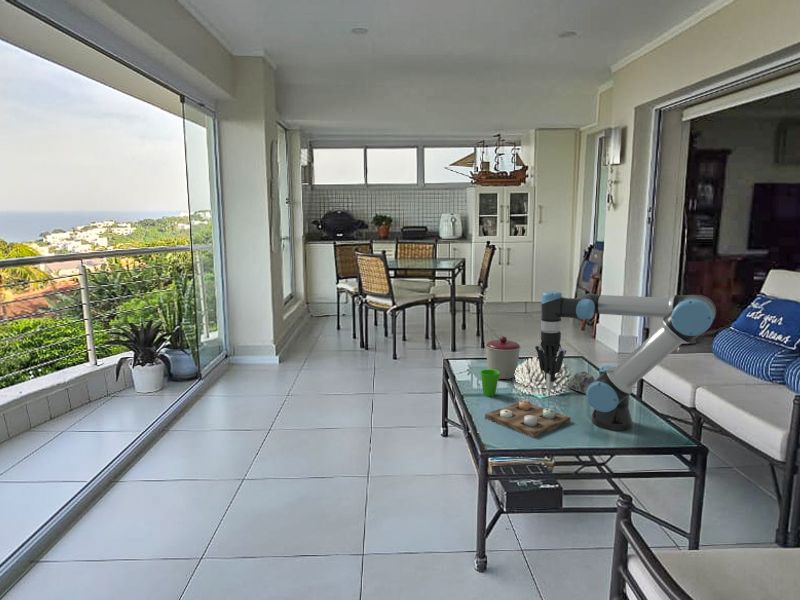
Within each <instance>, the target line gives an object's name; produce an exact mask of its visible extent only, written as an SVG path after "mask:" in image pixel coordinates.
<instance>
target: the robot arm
mask: <svg viewBox="0 0 800 600" xmlns="http://www.w3.org/2000/svg"><path fill="white" fill-rule="evenodd" d="M540 304H541V306H540V307H541V310H540V311H541V313H540V314H541V317H540V318H541V320H540V330H541V331H540V340H541V341H540V344H539V345H536V346H535V351H536V353H537V358H538V364H539V370H540V371H543V372H544V380H545V389H546V390H547V391H551V390H553V389H554V382H555V381H556V374H558V373H561V369H562V364H563V361H564V357H565V355H566V353H567V350H566V349H563V348H562V346H561V337H562V332H561V331H562V318H568V319H569V318H570V319H577V320H578V319H579V320H591V319H592V318H593V317H594V315H610V316H627V317H641V318H642V317H645V318H658V319H659V318H660V319H662V325H661V326H660V327H659V328H657V330H655V331H654V333H652V334H651V335H650V336H649V337H648V338H646V339H645V340H644V341H643V342H642V343H641V344H640V345H639V346H637V348H635V350H634V351H632V352H631V353H630V354H629V355H628V356H627V357H626V358H625V359H624V360H622V361H621V362H620V363H619V364H617V366H611V365H603V366H600V367H599V370H598V373H599V374H598V377H597V378H596V379H595V381H594V382H593V383H591V384H590V385H589V386H588V388H587V391H586V394H585V397H586V401H587V403H588V405H589V406H590V407H591V408H593V412H592V414H591V420H590V421H591V423H592V424H593V425H595V426H597V427H599V428H601V429H606V430H609V431H626V430H627V429H628V430H630V429H631V428H632V427H633V418H632V415H631V411H630V408H629V406H630V405H629V404H630V395H631V394H632V392H633V387H634V385H636V384H637V383H638V382H639V381H640V380H641V379H643V378H644V377H645V376H646V375H648V373H650V372H651V371H652V370H653V369H654V368H655V367H657V366H658V365H659V364H660V363H661V362H662V361H663V360H664V359H666V358H667V357H668V356H669V355H670V354H671V353H672V352H673V351H675V350H676V349H677V348H679V346H681V345H682V344H690V343H691V342H693V341H694V340H695V339H696V338H697V337H698V336H700V335H702V334H704V333H705V332H707V330H709V328H710V327H711V326H712V324H713V322H714V320H715V318H716V315H717V308H716V305H715V303H714V301H712V299H710V297H707V296H705V295H702V294H685V295H683V294H682V295H681V294H680V295H678V294H674V295H673V296H672V297H662V296H661V297H657V296H633V295H632V296H631V295H609V294H607V295H606V294H594V293H588V292H587V293H585V294H582V295H581V296H578V297H572V298H571V297H563V294H562V292H560V291H555V290H554V291H553V290H552V291H551V290H550V291H544V292H543V293H542V294H541V303H540ZM629 428H630V429H629Z"/></svg>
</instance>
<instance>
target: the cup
mask: <svg viewBox="0 0 800 600" xmlns="http://www.w3.org/2000/svg"><path fill="white" fill-rule="evenodd" d="M479 373H480V378H481V383H482V391H483V392H482V393H483V395H485V397H487V396H493V397H494V396H495V395H496V391H497V386H498V381H499V379H498V377H499V374H500V372H499V371H497V370H493V369H488V368H484V369H481V370H480V371H479Z"/></svg>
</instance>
